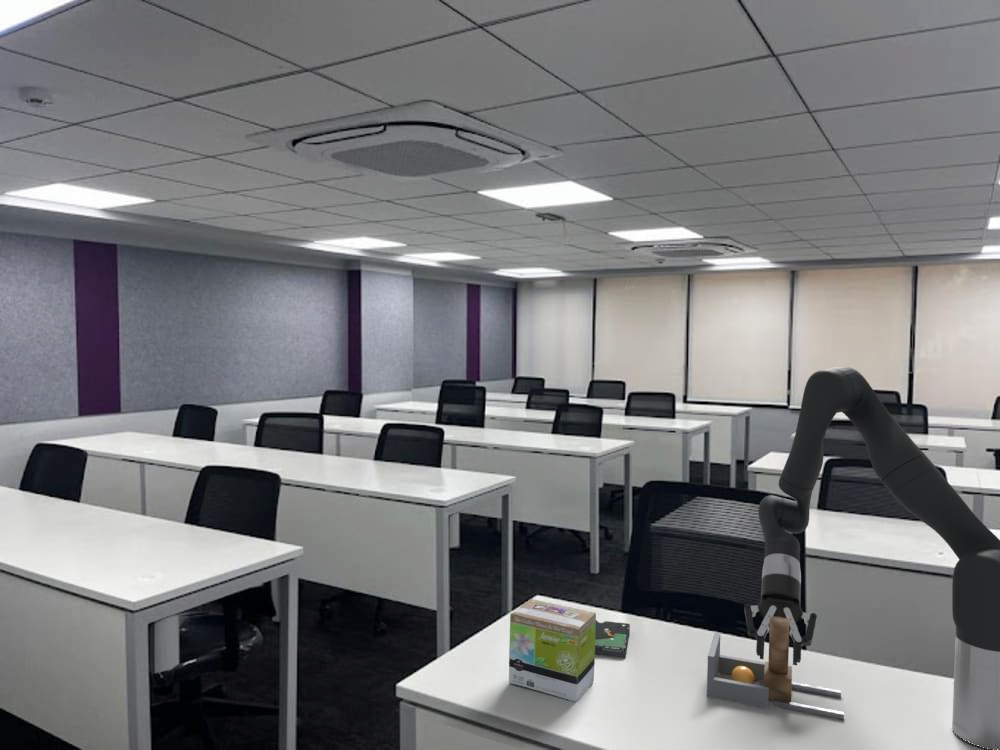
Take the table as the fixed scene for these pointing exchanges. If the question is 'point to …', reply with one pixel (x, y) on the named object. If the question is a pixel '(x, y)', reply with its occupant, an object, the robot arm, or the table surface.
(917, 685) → the table surface
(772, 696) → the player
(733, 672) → the ball
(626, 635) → the disk drive
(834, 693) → the track
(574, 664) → the tea box
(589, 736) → the table surface
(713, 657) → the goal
